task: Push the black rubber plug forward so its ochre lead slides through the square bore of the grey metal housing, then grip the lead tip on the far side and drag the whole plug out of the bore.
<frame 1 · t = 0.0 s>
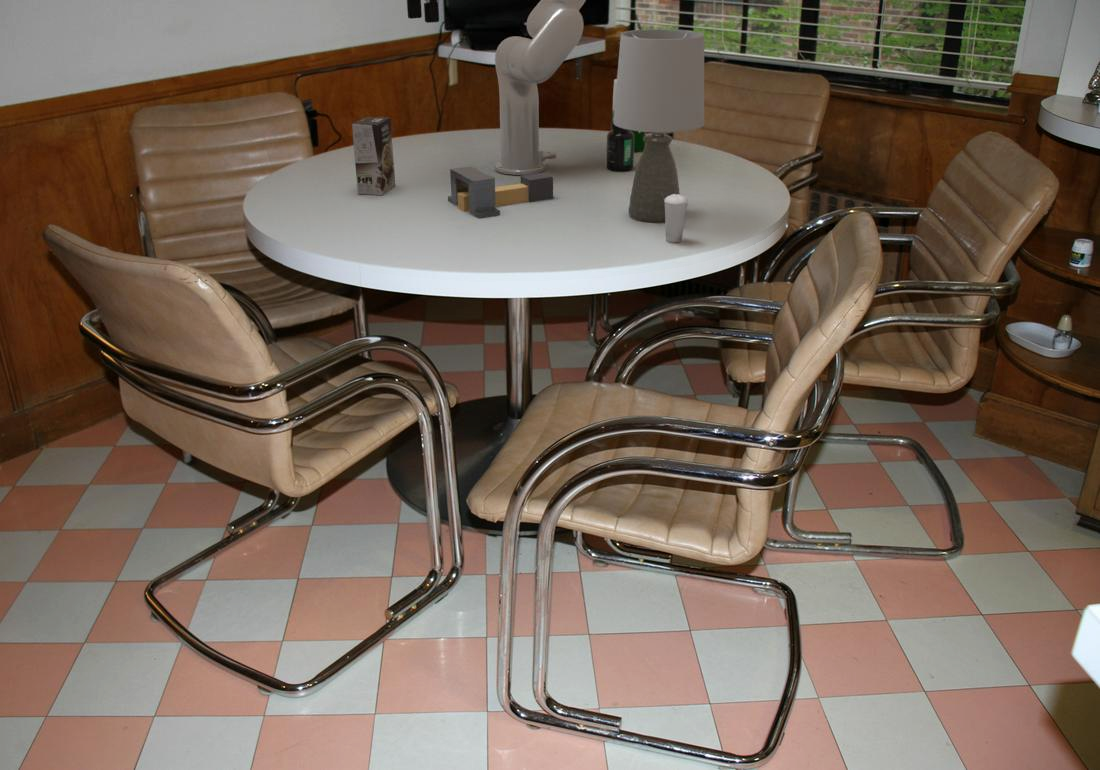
hand: (423, 20, 222), 37 cm above the table, tool pointing down, fingers open, 9 cm apart
milk carton: (628, 149, 268), on the table
coffee box: (377, 190, 232), on the table
milkshake: (671, 241, 197), on the table
housing: (473, 207, 218), on the table
plug: (536, 198, 225), on the table
supplement bottle: (619, 169, 249), on the table
lamp: (654, 216, 212), on the table
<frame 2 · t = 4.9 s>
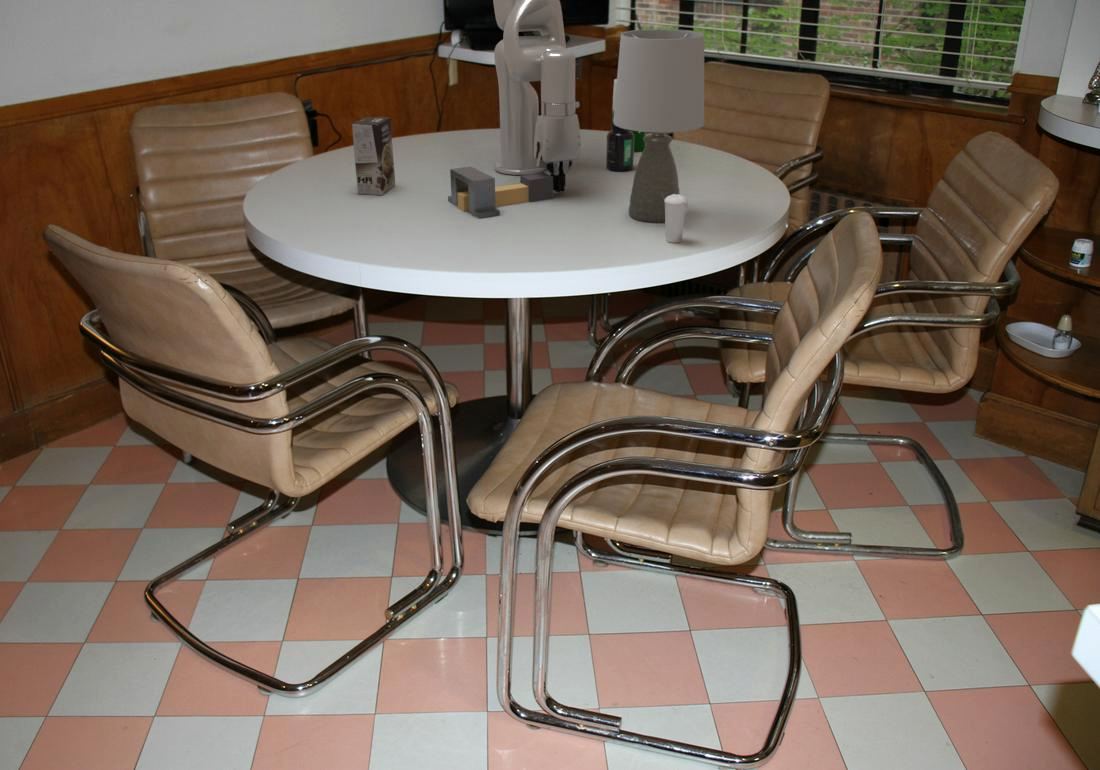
hand: (558, 190, 227), 1 cm above the table, tool pointing down, fingers closed
plug: (536, 197, 225), on the table, touching gripper
everything else where it was.
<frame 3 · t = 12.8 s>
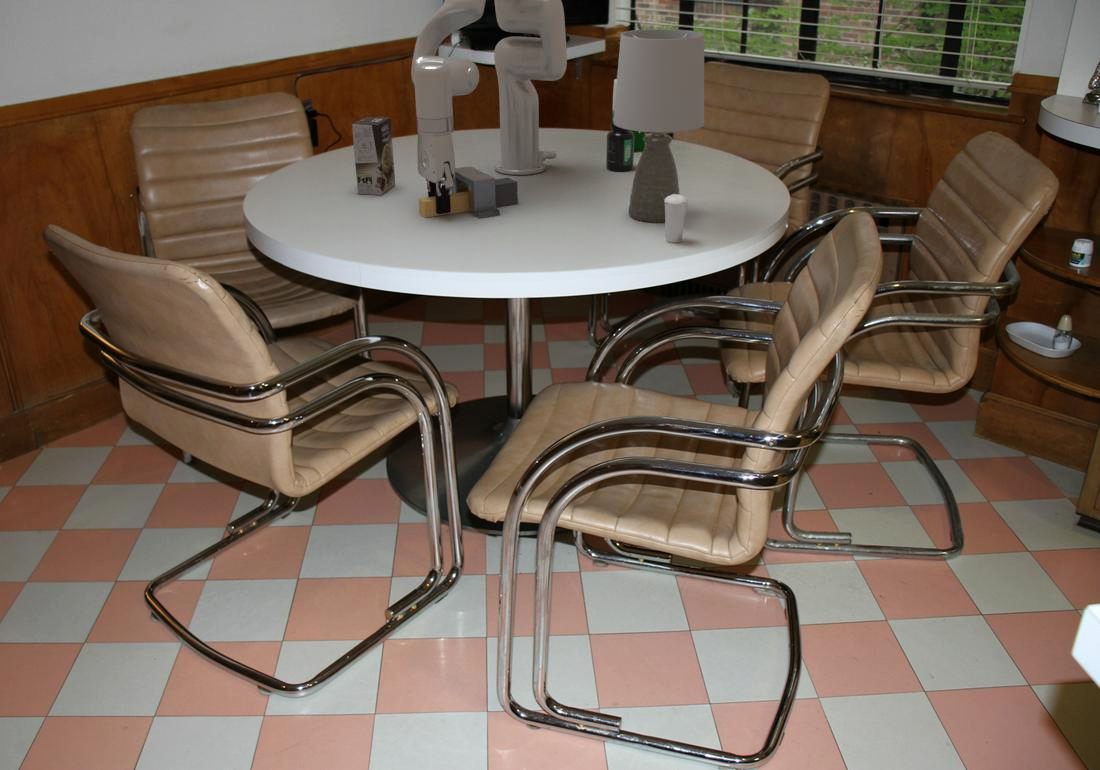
hand: (439, 210, 214), 1 cm above the table, tool pointing down, fingers closed on plug, 3 cm apart
plug: (501, 203, 221), on the table, touching gripper
everything else where it was.
when the fingers open (1 cm above the table, at t = 17.0 s): plug stays where it is, on the table.
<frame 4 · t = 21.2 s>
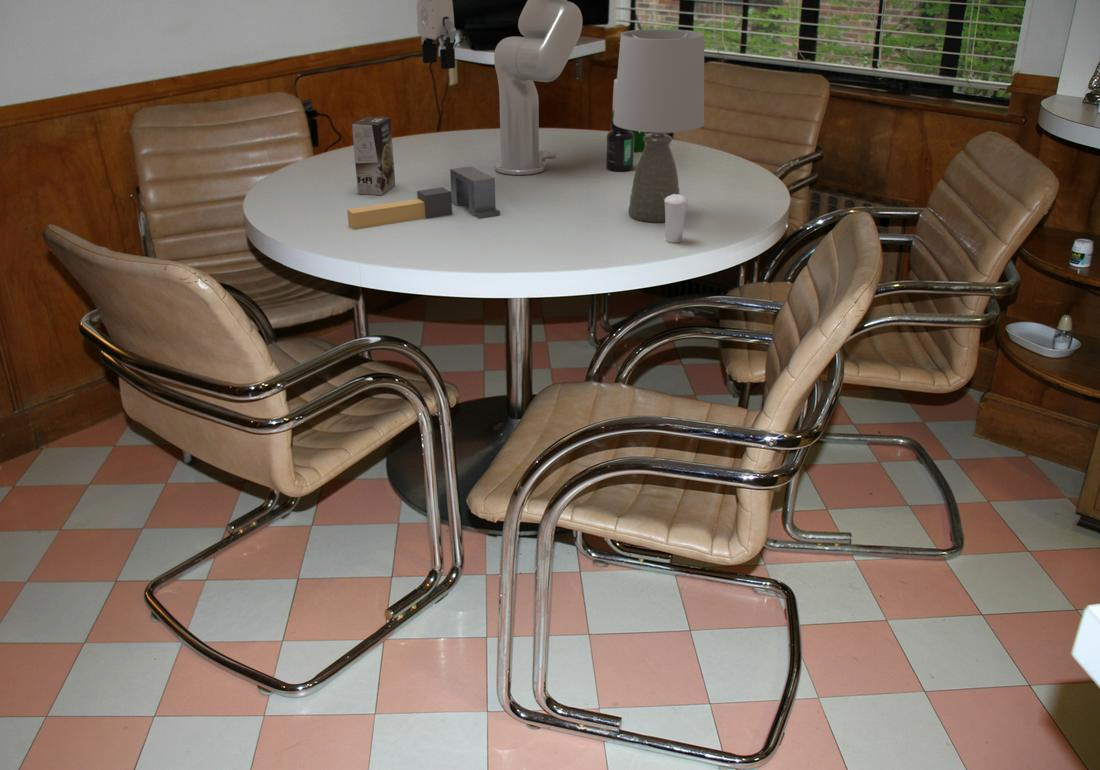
hand: (438, 65, 217), 28 cm above the table, tool pointing down, fingers open, 9 cm apart
plug: (435, 213, 214), on the table
everything else where it was.
at the end: plug inside the target area (8.9 cm from its centre), on the table; the gripper is holding nothing; plug tilted 0° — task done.
